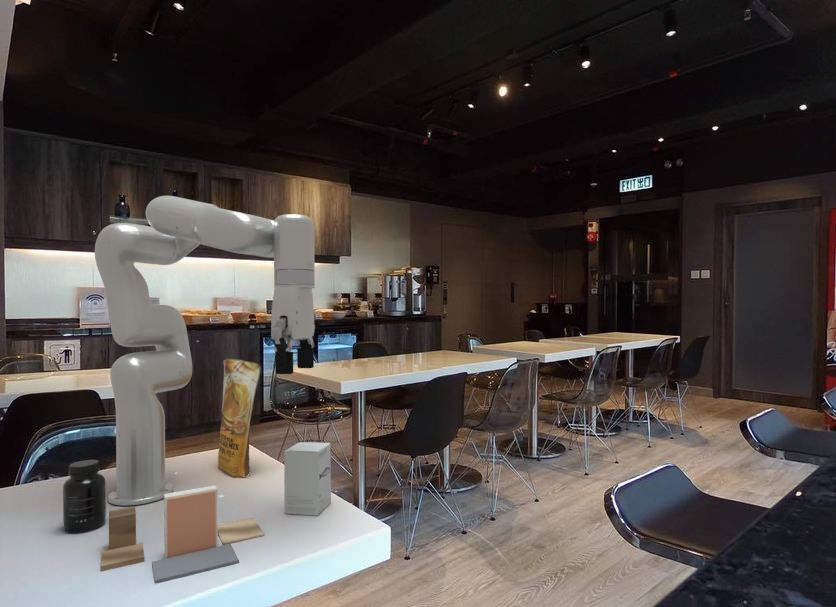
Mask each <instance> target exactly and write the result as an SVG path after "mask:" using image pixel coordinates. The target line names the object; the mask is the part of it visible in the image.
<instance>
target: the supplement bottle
mask: <svg viewBox="0 0 836 607" xmlns="http://www.w3.org/2000/svg"><path fill="white" fill-rule="evenodd" d="M100 470H101V469H100V461H99V460H98V459H97V460H96V459H86V460H80V461H75V462H73V463H70V464H69V465H68V477H69V478H68V479H67V480H66V481H65V482H64V483H63V485H62V511H63V512H62V515H63V516H62V517H63V521H62V522H63V530H64V531H65V532H66V533H69V534H81V533H86V532H90V531H93V530H96V529H99V528H100V527H102V526H103V525H104V524H105V523H106V520H107V505H106V504H107V500H106V499H107V494H106V493H107V491H106V489H107V488H106V478H105V476H104V475H103V474H101V473H99V472H100Z"/></svg>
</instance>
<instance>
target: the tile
mask: <svg viewBox="0 0 836 607" xmlns="http://www.w3.org/2000/svg"><path fill="white" fill-rule="evenodd" d="M163 503H164V504H163V511H164V512H163V513H164V514H163V517H164V518H163V519H164V526H163V528H164V529H163V530H164V531H163V532H164V533H163V534H164V545H163V546H164V559H165V558H170V557H174V556H179V555H183V554H188V553H192V552H196V551H201V550H205V549H210V548H214V547H219V545H218V544H219V543H218V533H217V525H218V488H217V486H216V485H210V486H204V487H197V488H192V489H187V490H180V491H173V492H172V493H167V494H164V498H163Z"/></svg>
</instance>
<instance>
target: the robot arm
mask: <svg viewBox="0 0 836 607" xmlns="http://www.w3.org/2000/svg"><path fill="white" fill-rule="evenodd" d="M145 217H146V220H147V223H148V224H149V225H150V226H149V225H148V226H147V225H144V224H138V223H129V222H115V223H111V224H109V225H107V226H105V227H103V229H102V230H101V231H100V232H99V233H98V235H97V238H96V241H95V244H94V260H95V264H96V267H97V271H98V273H99V275H100V278H101V280H102V283H103V287H104V293H105V299H106V305H107V312H108V318H109V324H110V325H109V326H110V328H111V329H110V330H111V335H112V338H113V340H114V342H115V343H116V344H117V345H119V346H122V347H125V348H126V347H127V348H135V347H136V348H138V347H153V346H155V350H149V351H139V352H131V353H127V354H124V355H122V356H120V357H119V358H118V359H116V360H115V361H114V363H112V365H111V368H110V374H109V376H110V377H109V378H110V384H111V388H112V392H113V398H114V405H115V429H116V430H115V432H116V433H115V435H116V436H115V437H116V438H115V440H116V441H115V446H116V447H115V450H116V451H115V453H116V454H115V455H116V461H115V462H116V463H115V466H116V469H115V472H116V474H115V476H116V482H115V485H116V489H114V490H113V491H111V492H110V493H109V494H108V496H107V501H108V502H109V504H112V505H114V506H125V507H127V506H138V505H139V506H140V505H144V504H149V503H153V502H157V501H160V500H162V499H164V494H167V493H173V492H174V486H173V484H172V483H169V482H166V422H165V421H166V420H165V419H166V416H165V410H164V407H163V405H162V403H161V402H160V400H159V399H158V396H157V394H159V393H163V392H169V391H175V390H179V389H183V388H184V387H186V386H187V384H189V382H190V381H191V378H192V375H193V360H192V354H191V349H190V341H189V337H188V330H187V325H186V322H185V318H184V317H183V315H182V313H181V312H180V311H179V310H178V309H177V308H175V307H174V306H172V305H168V304H153V303H152V301H151V297H150V292H149V285H148V284H147V281H146V279H145V278H144V276H143V275H142V273H141V272H140V270H138V268H137V267H136V266H135V264H136V263H138V264H146V265H147V264H149V265H158V266H159V265H160V266H170V265H173V264H176V263H178V262H179V261H181V260H182V259H184V258H185V257H187V255H189V254H190V253H191V252H192V251H193V250H195V249H196V248H197V247H198V246H200V245H203V246H207V247H210V248H214V249H218V250H222V251H224V252H225V251H226V252H231V253H235V254H240V255H241V254H242V255H249V256H256V257H261V258H270V259H272V258H273V281H274V282H273V283H274V284H273V287H274V288H273V289H274V290H273V296H272V303H271V304H272V305H271V319H270V320H271V324H270V328H271V329H270V330H271V331H270V332H271V333H270V334H271V339H272V343H273V345H274V347H273V351H274V353H275V354H274V357H275V359H274V360H275V361H274V362H275V366H274V368H275V374H276V375H292V374H293V373H294V351H292V348H293V345H294V342H297V344H298V347H297V349H296V351H297V354H296V355H297V358H296V362H297V365H296V366H297V369H313V368H314V362H315V361H314V360H315V359H314V358H315V357H314V355H315V354H314V352H315V351H314V347H315V343H314V339H315V336H316V335H314V334H315V329H316V324H315V309H314V296H313V289H316V288H315V287H316V285H315V284H316V282H315V281H316V280H315V279H316V278H315V277H316V276H315V274H316V273H315V269H316V268H315V223H314V221H313V219H312V218H311V217H310V216H308V215H305V214H297V213H296V214H295V213H291V214H287V213H286V214H281V215H278V216H277V217H275V219H269V218H265V217H261V216H258V215H254V214H248V213H244V212H239V211H234V210H230V209H226V208H225V209H224V208H222V207H221V208H220V207H219V206H217V205H216V204H212V203H207V202H203V201H198V200H193V199H190V198H189V199H188V198H184V197H179V196H175V195H174V196H173V195H161V196H158V197H155V198H153V199H152V200H151V201H150V202H149V203H147V206H146V209H145Z"/></svg>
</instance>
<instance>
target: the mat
mask: <svg viewBox="0 0 836 607" xmlns="http://www.w3.org/2000/svg"><path fill="white" fill-rule="evenodd" d="M239 563H240V559H239V557H238V556H237V554H236V551H235V549H234V548H233V546H232V543H229V544H225V545H223V544H222V545H218V547H214V548H210V549H205V550H201V551H196V552H192V553H188V554H183V555H179V556H174V557H170V558H165V557H164V558H163V559H157V560H152V561H151V565H152V572H153V579H154V583H155V584H158V583H163V582H167V581H170V580H173V579H174V580H175V579H178V578H183V577H186V576H191V575H194V574H199V573H203V572H206V571H211V570H214V569H218V568H219V569H220V568H222V567H228V566H231V565H235V564H236V565H237V564H239Z"/></svg>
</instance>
